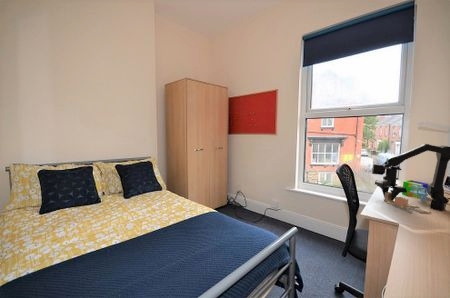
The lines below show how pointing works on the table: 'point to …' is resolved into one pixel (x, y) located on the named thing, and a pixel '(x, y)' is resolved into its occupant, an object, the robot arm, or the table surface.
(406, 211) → the lane bed
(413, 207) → the pair of tan slabs
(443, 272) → the table surface
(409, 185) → the puzzle toy
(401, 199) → the cube
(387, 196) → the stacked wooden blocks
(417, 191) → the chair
